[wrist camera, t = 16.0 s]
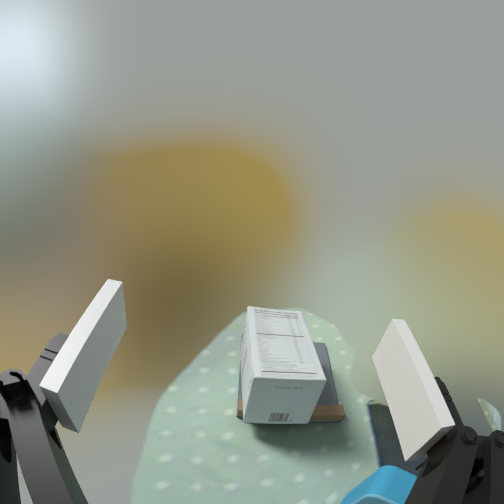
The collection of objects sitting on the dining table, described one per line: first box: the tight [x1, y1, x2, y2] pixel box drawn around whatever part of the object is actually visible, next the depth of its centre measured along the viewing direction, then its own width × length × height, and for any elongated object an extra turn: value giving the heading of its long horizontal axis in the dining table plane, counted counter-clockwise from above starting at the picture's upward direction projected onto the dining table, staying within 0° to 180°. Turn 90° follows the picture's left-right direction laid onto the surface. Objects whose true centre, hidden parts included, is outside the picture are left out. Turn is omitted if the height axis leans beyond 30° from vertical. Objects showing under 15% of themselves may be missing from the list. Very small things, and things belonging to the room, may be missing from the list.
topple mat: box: [237, 334, 345, 422], centre depth 48 cm, size 18×16×2 cm
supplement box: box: [240, 306, 327, 424], centre depth 43 cm, size 10×9×17 cm
